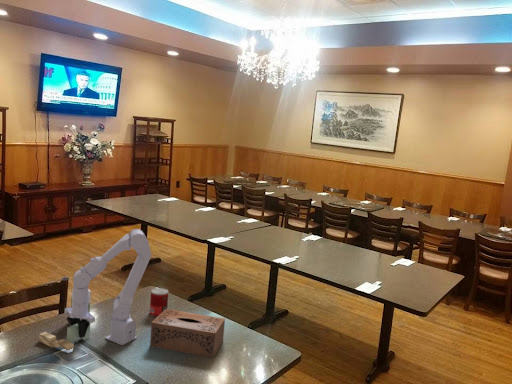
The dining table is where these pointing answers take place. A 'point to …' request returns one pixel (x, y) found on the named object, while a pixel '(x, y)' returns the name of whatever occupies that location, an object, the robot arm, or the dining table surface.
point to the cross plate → (76, 333)
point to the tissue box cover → (187, 332)
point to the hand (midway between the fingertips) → (78, 335)
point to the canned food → (158, 301)
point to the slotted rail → (54, 341)
